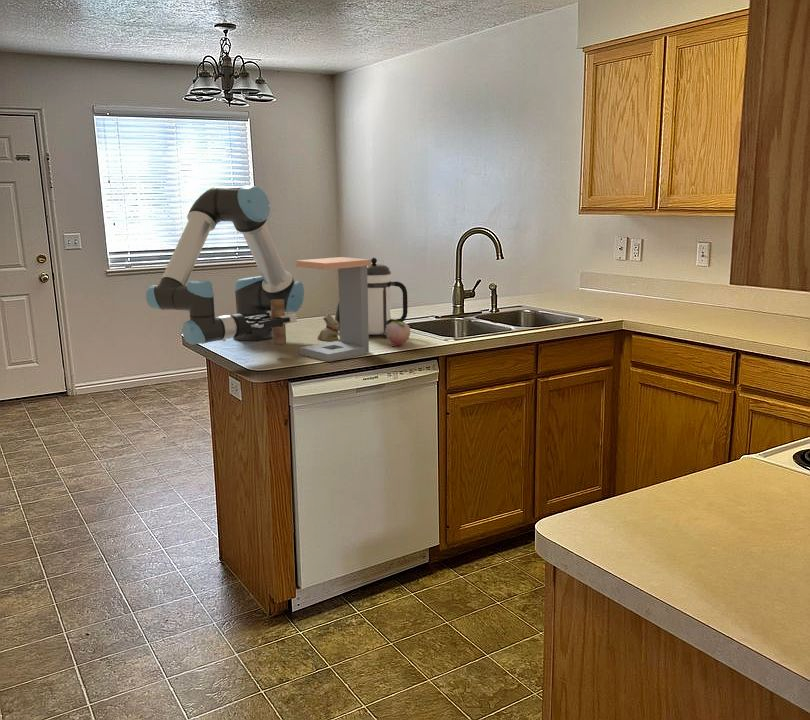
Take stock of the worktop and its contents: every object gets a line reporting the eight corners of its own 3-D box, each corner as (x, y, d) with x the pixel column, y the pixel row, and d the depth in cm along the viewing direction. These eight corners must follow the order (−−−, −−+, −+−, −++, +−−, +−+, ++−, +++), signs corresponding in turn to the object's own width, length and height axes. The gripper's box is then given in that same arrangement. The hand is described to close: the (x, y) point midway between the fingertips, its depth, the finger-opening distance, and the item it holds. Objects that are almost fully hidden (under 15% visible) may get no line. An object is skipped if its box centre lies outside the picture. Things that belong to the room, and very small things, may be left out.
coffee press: (371, 341, 276) (369, 260, 270) (348, 335, 289) (346, 257, 283) (408, 336, 286) (408, 257, 280) (385, 330, 299) (384, 255, 292)
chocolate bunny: (332, 341, 277) (332, 315, 275) (316, 339, 281) (315, 313, 279) (341, 339, 282) (340, 312, 279) (325, 337, 286) (324, 311, 283)
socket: (300, 354, 255) (296, 260, 248) (343, 346, 267) (341, 257, 260) (328, 361, 243) (325, 263, 236) (372, 353, 256) (370, 259, 249)
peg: (270, 344, 252) (268, 300, 248) (281, 342, 255) (279, 298, 251) (277, 346, 249) (275, 301, 245) (288, 343, 252) (286, 300, 248)
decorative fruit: (415, 346, 267) (415, 318, 265) (398, 349, 262) (398, 321, 260) (398, 342, 274) (398, 315, 272) (381, 345, 269) (381, 318, 267)
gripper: (218, 334, 245) (277, 324, 260) (246, 341, 233) (307, 331, 248) (216, 311, 243) (276, 303, 259) (244, 318, 231) (306, 309, 246)
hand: (291, 317), depth 253 cm, fingers closed on peg, 4 cm apart
